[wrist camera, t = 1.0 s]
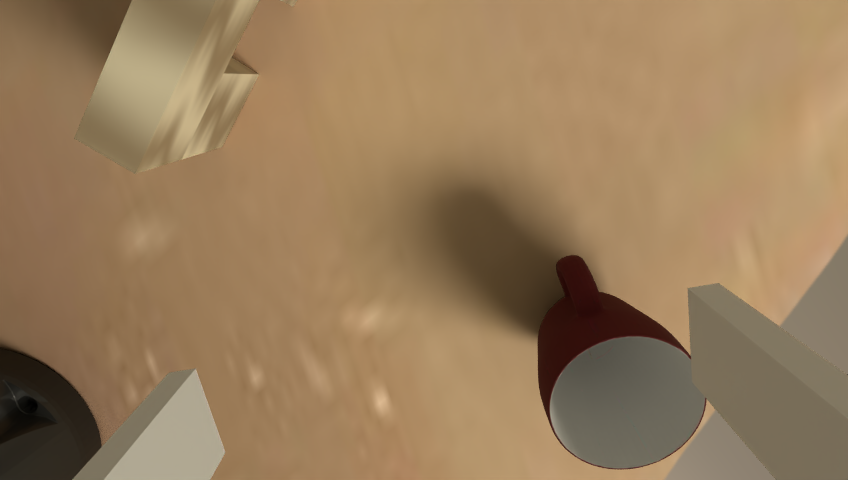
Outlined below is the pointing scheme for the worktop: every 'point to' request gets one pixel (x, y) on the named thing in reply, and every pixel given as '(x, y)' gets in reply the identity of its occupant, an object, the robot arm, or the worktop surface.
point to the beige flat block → (170, 82)
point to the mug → (613, 377)
